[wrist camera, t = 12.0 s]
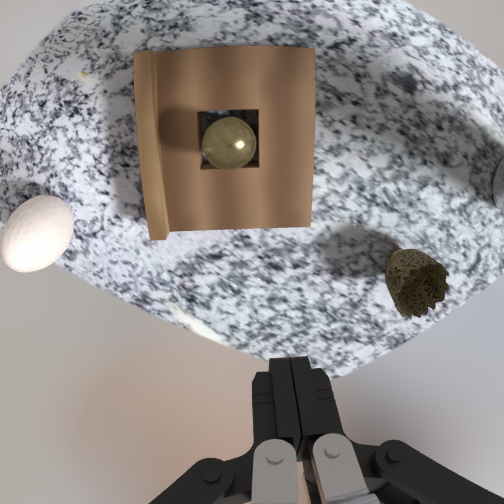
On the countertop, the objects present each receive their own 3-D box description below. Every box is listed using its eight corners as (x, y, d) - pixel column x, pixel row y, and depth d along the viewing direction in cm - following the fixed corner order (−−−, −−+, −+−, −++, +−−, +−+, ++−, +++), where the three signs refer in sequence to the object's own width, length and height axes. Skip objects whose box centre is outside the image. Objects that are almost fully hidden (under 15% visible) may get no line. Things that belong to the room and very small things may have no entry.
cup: (367, 244, 36) (395, 278, 29) (417, 225, 35) (451, 255, 28) (374, 290, 39) (398, 328, 32) (420, 272, 38) (448, 305, 31)
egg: (37, 182, 30) (-23, 219, 19) (86, 185, 31) (29, 225, 20) (42, 237, 33) (-8, 285, 23) (88, 243, 34) (43, 298, 23)
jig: (307, 53, 25) (320, 44, 21) (304, 216, 34) (314, 235, 29) (148, 59, 25) (133, 52, 20) (161, 221, 33) (150, 240, 29)
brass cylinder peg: (251, 115, 28) (256, 117, 21) (251, 154, 30) (256, 169, 23) (210, 116, 28) (201, 118, 21) (211, 155, 30) (203, 170, 23)
